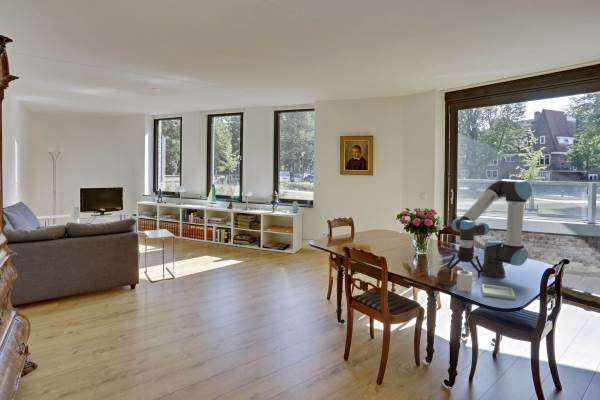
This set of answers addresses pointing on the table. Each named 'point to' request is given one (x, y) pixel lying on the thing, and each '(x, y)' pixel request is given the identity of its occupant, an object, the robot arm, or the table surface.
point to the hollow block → (464, 281)
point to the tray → (498, 291)
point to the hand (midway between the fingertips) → (463, 281)
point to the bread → (447, 276)
